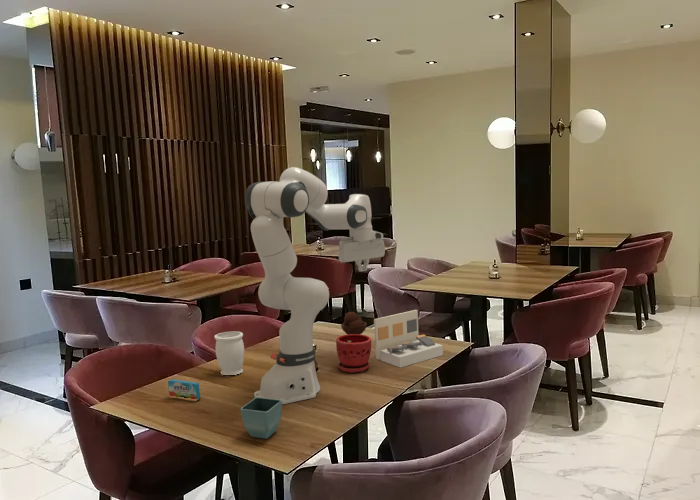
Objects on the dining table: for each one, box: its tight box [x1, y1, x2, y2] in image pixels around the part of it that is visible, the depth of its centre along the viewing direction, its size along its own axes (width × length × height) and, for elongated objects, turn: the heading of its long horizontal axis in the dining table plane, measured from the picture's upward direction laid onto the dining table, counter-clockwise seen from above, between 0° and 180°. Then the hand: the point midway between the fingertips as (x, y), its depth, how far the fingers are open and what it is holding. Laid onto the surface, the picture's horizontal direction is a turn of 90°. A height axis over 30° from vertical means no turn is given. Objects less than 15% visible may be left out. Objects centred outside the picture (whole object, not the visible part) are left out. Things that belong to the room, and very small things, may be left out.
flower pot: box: [240, 397, 283, 440], centre depth 156 cm, size 9×9×9 cm
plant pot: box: [335, 334, 372, 373], centre depth 209 cm, size 13×13×12 cm
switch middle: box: [402, 342, 421, 347], centre depth 218 cm, size 4×7×1 cm, turn 35°
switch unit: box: [373, 309, 444, 369], centre depth 219 cm, size 22×15×16 cm
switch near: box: [387, 346, 406, 351], centre depth 214 cm, size 4×7×1 cm, turn 35°
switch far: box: [416, 334, 436, 347], centre depth 223 cm, size 4×7×1 cm, turn 35°
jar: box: [214, 330, 245, 376], centre depth 211 cm, size 11×10×15 cm
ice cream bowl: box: [340, 311, 368, 343], centre depth 239 cm, size 11×11×15 cm
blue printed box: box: [167, 378, 201, 399], centre depth 187 cm, size 12×2×6 cm, turn 65°
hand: (362, 270), depth 217 cm, fingers closed
